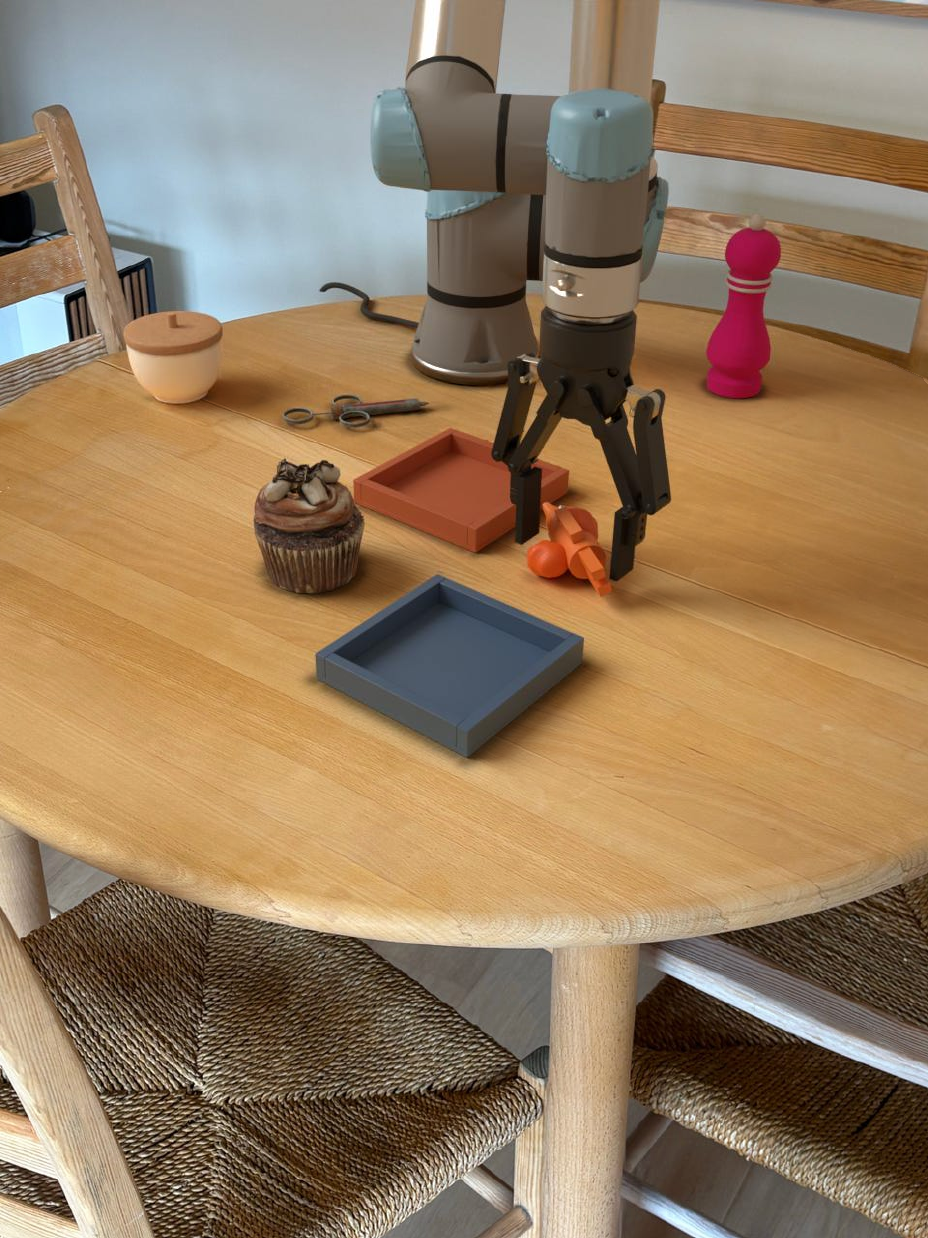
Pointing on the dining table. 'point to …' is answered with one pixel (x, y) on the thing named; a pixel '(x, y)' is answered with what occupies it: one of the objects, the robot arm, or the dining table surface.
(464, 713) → the blue tray
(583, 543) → the orange toy bird
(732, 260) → the pepper mill
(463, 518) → the terracotta tray
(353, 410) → the syringe
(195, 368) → the trinket box
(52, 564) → the dining table surface
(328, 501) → the cupcake
